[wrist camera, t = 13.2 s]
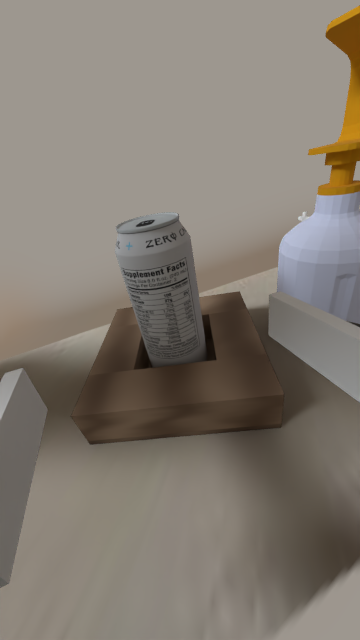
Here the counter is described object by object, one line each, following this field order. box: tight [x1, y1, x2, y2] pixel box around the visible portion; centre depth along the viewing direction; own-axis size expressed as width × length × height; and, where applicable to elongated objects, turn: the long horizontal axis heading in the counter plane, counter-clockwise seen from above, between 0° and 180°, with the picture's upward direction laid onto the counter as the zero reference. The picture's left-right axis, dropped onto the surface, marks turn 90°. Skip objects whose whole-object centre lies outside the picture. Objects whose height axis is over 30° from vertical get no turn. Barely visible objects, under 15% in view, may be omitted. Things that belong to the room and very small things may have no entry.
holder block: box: [71, 292, 284, 444], centre depth 26 cm, size 16×16×4 cm
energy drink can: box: [115, 212, 207, 368], centre depth 22 cm, size 6×6×15 cm
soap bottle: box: [277, 6, 360, 324], centre depth 22 cm, size 9×9×25 cm
